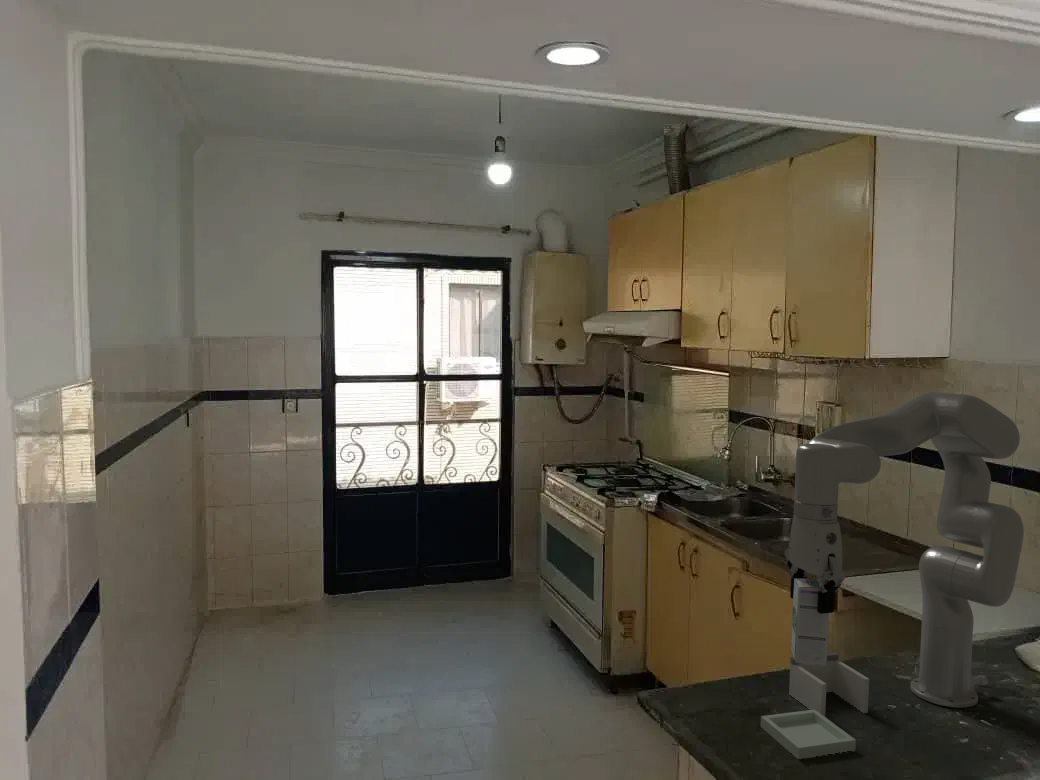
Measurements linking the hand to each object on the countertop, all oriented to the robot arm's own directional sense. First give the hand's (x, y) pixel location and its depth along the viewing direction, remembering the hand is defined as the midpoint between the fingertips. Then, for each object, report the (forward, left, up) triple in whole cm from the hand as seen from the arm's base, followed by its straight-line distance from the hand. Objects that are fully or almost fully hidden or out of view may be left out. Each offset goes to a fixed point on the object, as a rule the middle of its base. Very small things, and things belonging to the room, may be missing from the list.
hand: (811, 604), depth 144 cm
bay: (-13, -11, -26) cm, 31 cm away
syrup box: (0, 0, -11) cm, 11 cm away
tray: (0, 0, -26) cm, 26 cm away
